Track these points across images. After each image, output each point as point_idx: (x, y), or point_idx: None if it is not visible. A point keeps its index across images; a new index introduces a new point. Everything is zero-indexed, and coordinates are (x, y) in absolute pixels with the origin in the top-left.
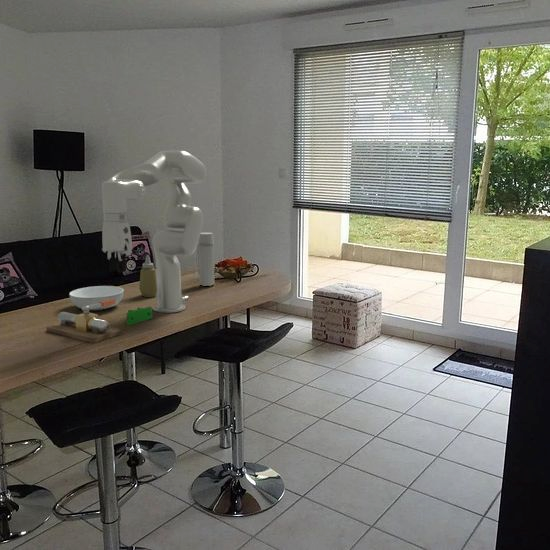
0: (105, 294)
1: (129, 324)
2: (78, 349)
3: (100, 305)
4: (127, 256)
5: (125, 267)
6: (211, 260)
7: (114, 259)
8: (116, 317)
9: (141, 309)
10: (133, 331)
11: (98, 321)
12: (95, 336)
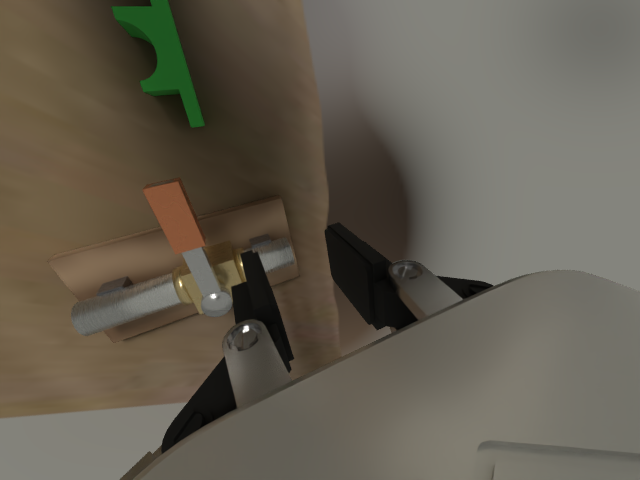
0: None
1: (204, 123)
2: (311, 301)
3: (204, 250)
4: (469, 286)
5: (366, 243)
6: None
7: (277, 329)
8: (40, 90)
9: (168, 32)
10: (280, 157)
11: (278, 268)
12: (289, 267)
